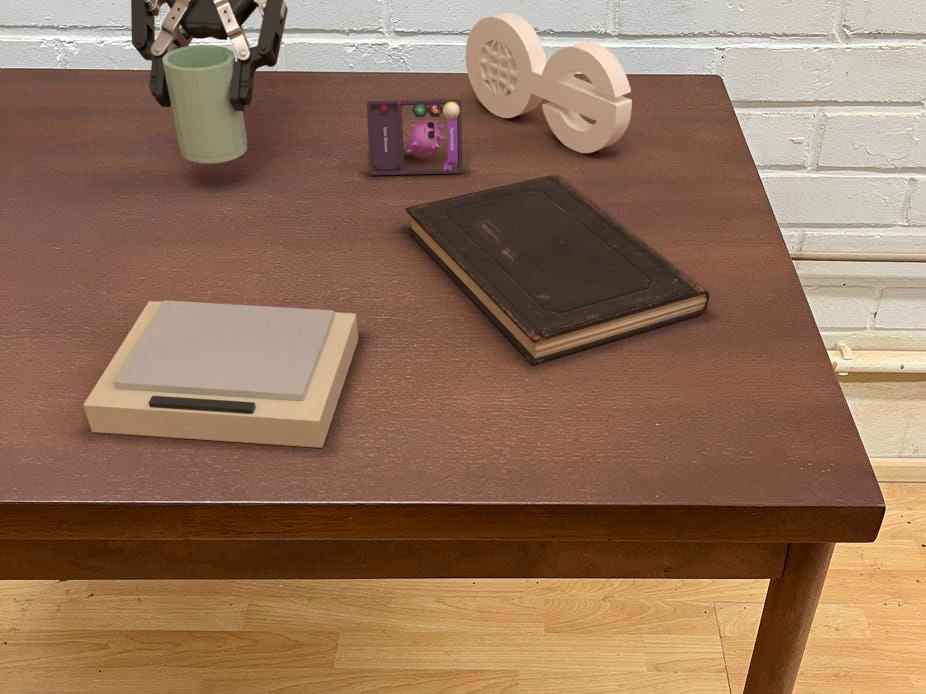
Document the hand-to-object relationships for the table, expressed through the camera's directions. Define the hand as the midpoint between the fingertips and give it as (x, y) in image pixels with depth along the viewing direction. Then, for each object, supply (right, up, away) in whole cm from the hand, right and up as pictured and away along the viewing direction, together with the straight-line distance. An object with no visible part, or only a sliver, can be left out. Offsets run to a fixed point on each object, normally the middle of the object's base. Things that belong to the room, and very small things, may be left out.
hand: (200, 105), depth 90 cm
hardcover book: (+31, -16, -5) cm, 35 cm away
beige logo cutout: (+32, +3, +17) cm, 36 cm away
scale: (+7, -27, -17) cm, 33 cm away
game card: (+19, -2, +10) cm, 21 cm away
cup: (0, -3, +4) cm, 5 cm away
